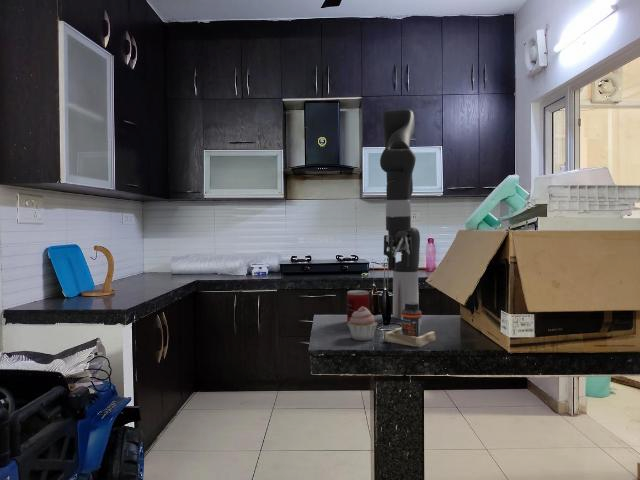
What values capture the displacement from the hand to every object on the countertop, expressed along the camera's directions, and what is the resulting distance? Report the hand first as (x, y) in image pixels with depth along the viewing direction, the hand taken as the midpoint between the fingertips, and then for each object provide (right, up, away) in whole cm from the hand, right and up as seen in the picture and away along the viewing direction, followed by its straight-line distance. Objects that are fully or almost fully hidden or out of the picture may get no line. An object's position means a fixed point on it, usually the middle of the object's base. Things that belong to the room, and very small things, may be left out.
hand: (398, 267), depth 155 cm
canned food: (-11, -21, +22) cm, 32 cm away
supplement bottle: (+3, -22, -3) cm, 22 cm away
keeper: (+3, -22, -4) cm, 22 cm away
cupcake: (-11, -22, -1) cm, 25 cm away
